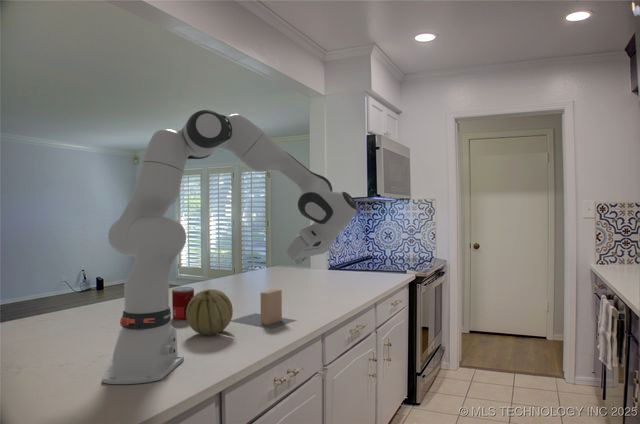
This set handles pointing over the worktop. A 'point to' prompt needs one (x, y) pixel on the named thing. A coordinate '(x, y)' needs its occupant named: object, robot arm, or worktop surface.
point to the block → (271, 306)
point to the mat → (256, 321)
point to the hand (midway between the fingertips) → (298, 262)
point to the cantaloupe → (209, 312)
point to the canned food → (181, 301)
